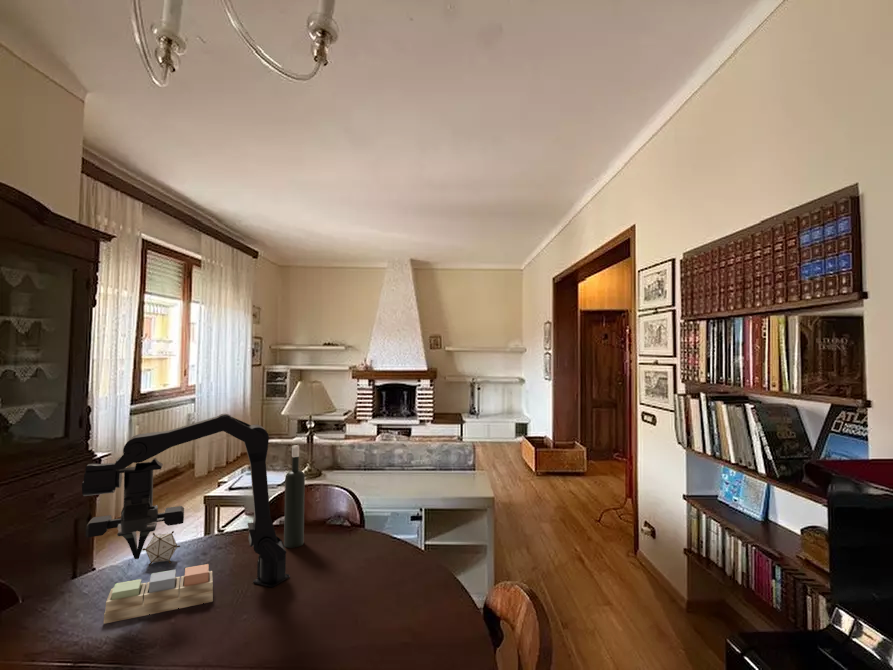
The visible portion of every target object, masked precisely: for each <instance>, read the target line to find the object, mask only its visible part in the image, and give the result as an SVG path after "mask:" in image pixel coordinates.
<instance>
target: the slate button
mask: <svg viewBox="0 0 893 670" xmlns="http://www.w3.org/2000/svg"><path fill="white" fill-rule="evenodd" d="M176 570H177V569H171V570H166V571H159V572H153V573H150V574H151V575H150V579H149V581H148V582H149V593H152V592H157V591H163V590H168V589H174V588H175V583H176V577H177V571H176Z"/></svg>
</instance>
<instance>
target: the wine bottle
mask: <svg viewBox="0 0 893 670" xmlns="http://www.w3.org/2000/svg"><path fill="white" fill-rule="evenodd" d="M299 458H300V445H297V444H294V445H292V446H291V470H290V471H288V472H287V473H286V475H285V476H284V477H285V478H284V480H285V481H284V482H285V483H284V521H283V522H284V523H283V524H284V526H283V527H284V528H283V529H284V530H283V545H284V547H285V548H287V549H294V548H295V547H296V548H299V547H301V546H303V545H304V541H305V532H304V531H305V495H306V494H305V489H306V488H305V486H306V484H305V483H306V481H305V479H306V475H305V473H304V472H303V471H302V470H300V468H299V467H300V466H299V464H300V459H299ZM296 548H295V549H296Z"/></svg>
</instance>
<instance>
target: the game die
mask: <svg viewBox="0 0 893 670" xmlns="http://www.w3.org/2000/svg"><path fill="white" fill-rule="evenodd" d="M174 533H175V530H172V532H171V533H163V534H162V533H160V534H155V532H152V536H153V537H152V538H151V539H150V541H149V543H148V544H147V546H146V547H145V548H142V551H145V553H146V554H147V557H148V559H149V561H150V562H149V564H148V566H152V564H153V563H161V562H168V563H169V564H171V562H172V561H171V559H172V557H173V555H174V553H175V551H176V550H177V549H178V548H180V547H181V545H178V544H177V542H176V539H175V536H174Z"/></svg>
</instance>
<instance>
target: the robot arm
mask: <svg viewBox="0 0 893 670" xmlns="http://www.w3.org/2000/svg"><path fill="white" fill-rule="evenodd" d="M221 432H224V433H227V434H228V435H230V436H232V437H234V438H235V439H237V440H239V441H242V442H243V444H244V446H245V450H246V454H247V457H248V461H249V464H250V465H249V466H250V478H251V480H250V481H251V490H252V501H253V513H254V514H253V521H252V522H247V527H248V532H249V534H248V537H247V538H248V542H249V547H251V548H253V551H254V552H255V554H257V555H258V560H257V564H256V565H257V567H256V568H257V569H256V570H257V571H256V577H257V578H255V579H253V583H254V584H256V585H260V586H265V587H268V588H274V587H275V586H277V585H279V584H280V583H282V582H283V581H285V580H287V579H289V578H290V576H291V575H290V574H287V573H286V567H287V565H286V564H287V563H286V562H287V561H286V560H287V556H286V555H287V550H286V547H285V546H284V541H283V540H282V539H281V538H280V537H279V536H278V535H277V533H276V530H275V526H274V523H273V520H272V516H271V508H270V499H269V498H270V497H269V496H270V495H269V487H268V485H269V484H268V474H267V471H268V470H267V464H266V463H267V456H268V449H269V441H270V438H269V437H270V436H269V433H268V431H267V430H266V429H265V427H263V426H262V425H260V424H249V423H247V422H245V421H243V420H240V419H238V418H235V417H233V416H231V414H229V413H220V414H219V415H217V416H214V417H211V418H207V419H204V420H200V421H197V422H193V423H191V424H186V425H183V426H180V427H177V428H174V429H170V430H165V431H164V430H163V431H162V430H161V431H153V432H152V431H151V432H146V433H138V434H135V435H134V436H132V437H131V438H130V439H128V441H127V442H126V443H125V444H124V446H123V450H122V455H121V456H120V457H118V458H116V460H115V462H107V463H88V464H87V465H86V466H85V472H84V475H83V481H82V482H81V494H82V496H83V497H87V496H97V495H107V494H114V493H115V492H116V490H117V489H119V488H121V486H122V482H123V503H122V505H123V507H122V509H121V512H120V518H112V515H111V514H109V515H103V516H102V515H101V516H93V517H92V518H91V519H90V520H89V521H88V523H87V524H86V526H85V538H93V537H94V538H95V537H100V536H101V537H102V536H103V535H105V534H106V533H107V531H108V530H109V529H117V530H118V531H117V533H116V535H117V537H123V538H124V539H125V541H126V542H127V545H128V546H129V549H130V551H131V553H132V556H133V558H134V560H139V559H140V556H141V554H142V551H143V550H142V549H143V547H144V544H145V542H146V540H147V538H148V537H149V535H150V533H153V532H155V531H156V529H157V523H158V522H163V523H164V524H165V525H167V526H174V525H175V526H177V525H181V524H184V520H185V508H184V507H183V506H182V505H179V506H171V507H165V509H164V510H165V511H164V512H159V507H158V505H157V504H156V505H153V503H154V502H153V501H154V498H153V497H154V471H155V470H162V468H163V466H164V464H163V463H162V462H160V461H159V460H158V459H157V458H156V457H155V456H157V455H159V454H161V453H163V452H164V451H166V450H168V449H170V448H173V447H175V446H179V445H183V444H185V443H189V442H192V441H195V440H199V439H201V438H205V437H208V436H211V435H215V434H218V433H221ZM153 457H154V458H153ZM151 458H153V459H152V460H151V461H147V460H149V459H151ZM132 464H135V466H131V465H132ZM122 480H123V481H122ZM137 532H139V536H138V537H139V539H137Z"/></svg>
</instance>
